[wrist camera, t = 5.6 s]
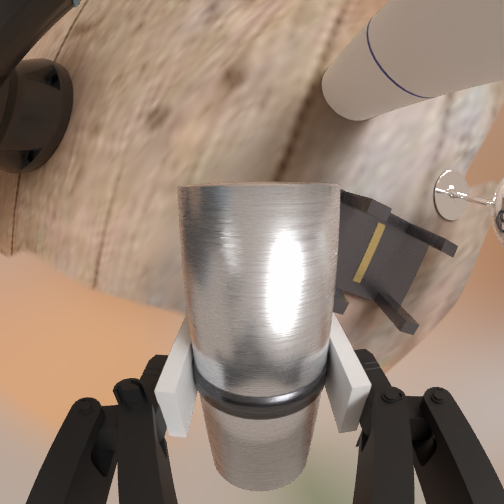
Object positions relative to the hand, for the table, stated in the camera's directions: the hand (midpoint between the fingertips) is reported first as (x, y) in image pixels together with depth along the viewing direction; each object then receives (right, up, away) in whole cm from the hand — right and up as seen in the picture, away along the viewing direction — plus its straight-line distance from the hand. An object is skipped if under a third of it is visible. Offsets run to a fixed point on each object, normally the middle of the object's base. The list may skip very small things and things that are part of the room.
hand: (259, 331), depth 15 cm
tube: (0, 0, 0) cm, 0 cm away
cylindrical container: (+10, +22, +10) cm, 26 cm away
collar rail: (+12, +4, +15) cm, 20 cm away
